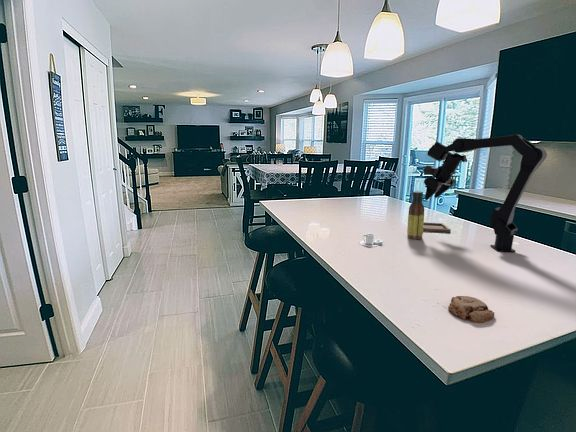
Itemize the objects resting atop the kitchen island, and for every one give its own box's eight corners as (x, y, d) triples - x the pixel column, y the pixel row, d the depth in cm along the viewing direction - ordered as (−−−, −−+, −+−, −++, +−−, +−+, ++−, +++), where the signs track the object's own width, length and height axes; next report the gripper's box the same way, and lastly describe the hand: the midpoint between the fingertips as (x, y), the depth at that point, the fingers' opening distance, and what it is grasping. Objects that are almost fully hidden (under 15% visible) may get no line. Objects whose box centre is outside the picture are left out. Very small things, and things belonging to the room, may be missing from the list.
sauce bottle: (420, 236, 147) (425, 190, 142) (424, 240, 141) (429, 193, 136) (404, 235, 147) (409, 190, 143) (407, 239, 141) (412, 192, 137)
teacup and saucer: (384, 244, 136) (385, 234, 135) (377, 249, 129) (378, 239, 128) (363, 240, 140) (364, 230, 140) (355, 245, 134) (356, 235, 133)
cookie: (479, 303, 87) (481, 292, 87) (501, 325, 77) (503, 313, 76) (439, 301, 88) (441, 290, 87) (456, 323, 78) (458, 311, 77)
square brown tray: (450, 232, 153) (450, 229, 153) (422, 231, 155) (422, 228, 154) (442, 226, 165) (443, 223, 164) (416, 224, 166) (417, 221, 166)
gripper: (441, 157, 152) (424, 187, 160) (422, 158, 140) (405, 191, 147) (464, 169, 146) (445, 200, 154) (446, 171, 134) (426, 204, 141)
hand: (430, 198), depth 149 cm, fingers open, 9 cm apart
